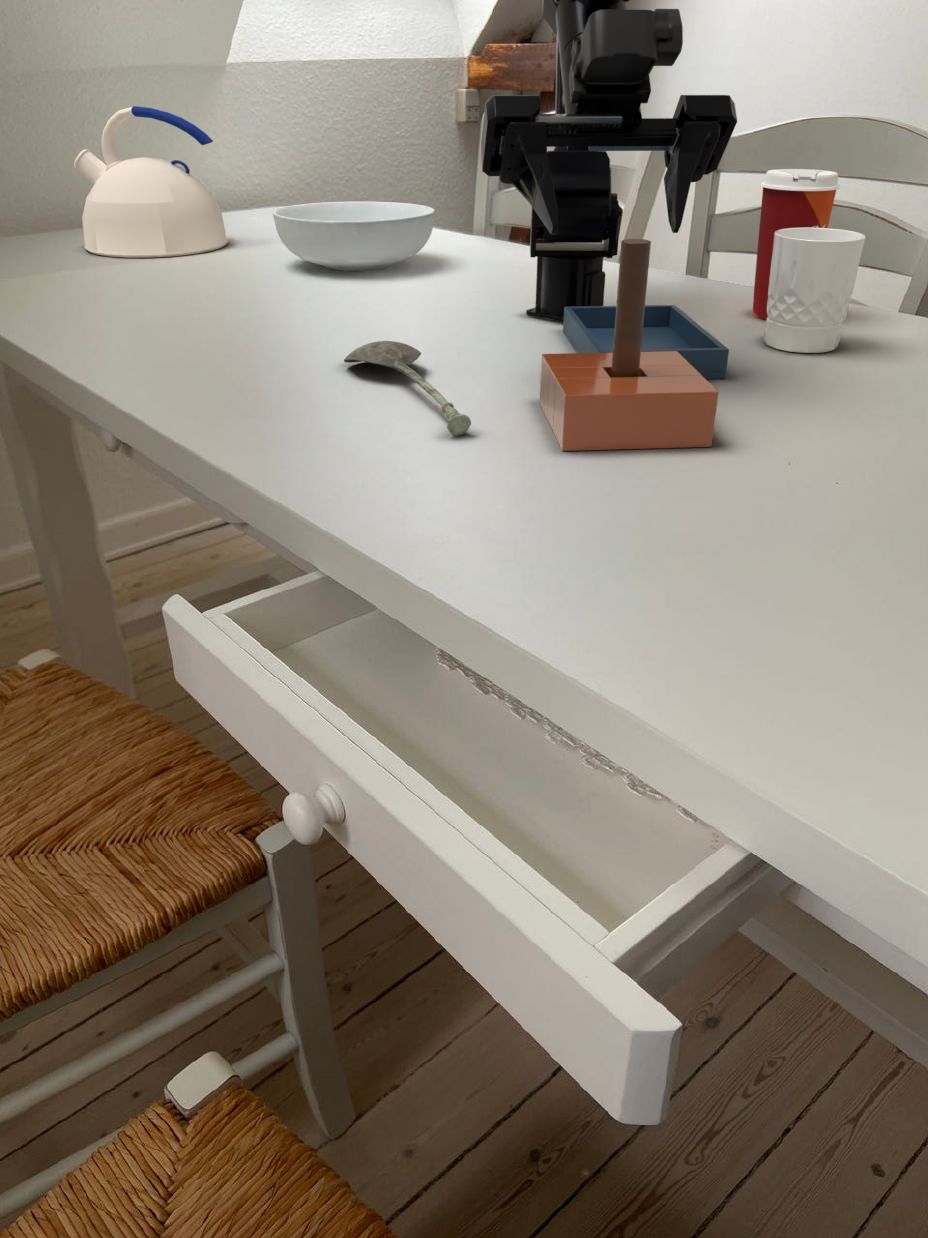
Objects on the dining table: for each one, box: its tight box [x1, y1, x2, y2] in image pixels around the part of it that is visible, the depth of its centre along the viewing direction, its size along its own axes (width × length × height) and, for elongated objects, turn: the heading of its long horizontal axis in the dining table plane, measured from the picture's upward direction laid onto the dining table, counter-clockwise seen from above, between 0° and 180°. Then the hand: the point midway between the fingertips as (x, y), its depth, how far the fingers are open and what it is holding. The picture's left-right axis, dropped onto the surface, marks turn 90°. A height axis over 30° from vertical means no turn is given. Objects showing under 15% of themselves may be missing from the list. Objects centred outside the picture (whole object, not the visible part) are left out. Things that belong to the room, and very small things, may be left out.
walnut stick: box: [611, 238, 652, 378], centre depth 69 cm, size 2×2×13 cm
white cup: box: [763, 227, 866, 354], centre depth 90 cm, size 8×8×10 cm
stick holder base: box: [539, 351, 719, 452], centre depth 72 cm, size 11×11×4 cm
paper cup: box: [752, 168, 841, 321], centre depth 100 cm, size 8×8×14 cm
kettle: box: [73, 105, 229, 259], centre depth 137 cm, size 20×21×18 cm
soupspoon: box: [343, 340, 472, 436], centre depth 78 cm, size 22×3×7 cm
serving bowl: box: [272, 200, 436, 272], centre depth 127 cm, size 21×21×7 cm
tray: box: [562, 304, 730, 380], centre depth 89 cm, size 17×11×2 cm, turn 5°
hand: (616, 229), depth 72 cm, fingers open, 9 cm apart
